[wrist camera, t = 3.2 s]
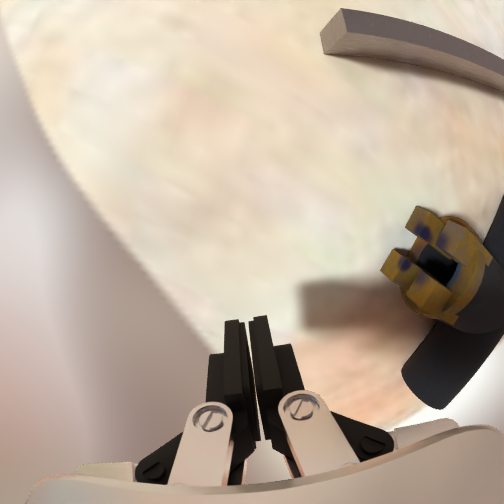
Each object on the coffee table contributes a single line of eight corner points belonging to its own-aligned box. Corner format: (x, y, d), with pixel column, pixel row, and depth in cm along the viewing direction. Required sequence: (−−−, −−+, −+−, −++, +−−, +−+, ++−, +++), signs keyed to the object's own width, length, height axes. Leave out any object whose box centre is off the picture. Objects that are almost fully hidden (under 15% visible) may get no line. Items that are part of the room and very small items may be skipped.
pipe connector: (353, 406, 11) (513, 128, 7) (323, 341, 16) (444, 123, 12) (455, 410, 14) (561, 238, 10) (424, 368, 19) (515, 216, 14)
